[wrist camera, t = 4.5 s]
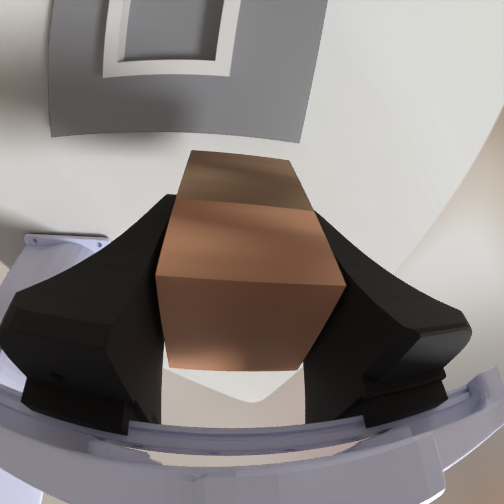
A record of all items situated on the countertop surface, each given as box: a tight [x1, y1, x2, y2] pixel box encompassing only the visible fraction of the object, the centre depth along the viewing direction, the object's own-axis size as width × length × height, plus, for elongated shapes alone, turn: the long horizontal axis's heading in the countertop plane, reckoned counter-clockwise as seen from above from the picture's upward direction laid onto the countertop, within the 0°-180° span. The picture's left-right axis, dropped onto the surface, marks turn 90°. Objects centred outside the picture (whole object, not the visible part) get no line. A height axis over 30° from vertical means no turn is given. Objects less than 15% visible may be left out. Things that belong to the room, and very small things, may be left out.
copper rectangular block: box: [155, 150, 346, 371], centre depth 10 cm, size 4×4×7 cm
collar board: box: [48, 0, 328, 143], centre depth 11 cm, size 16×14×3 cm
